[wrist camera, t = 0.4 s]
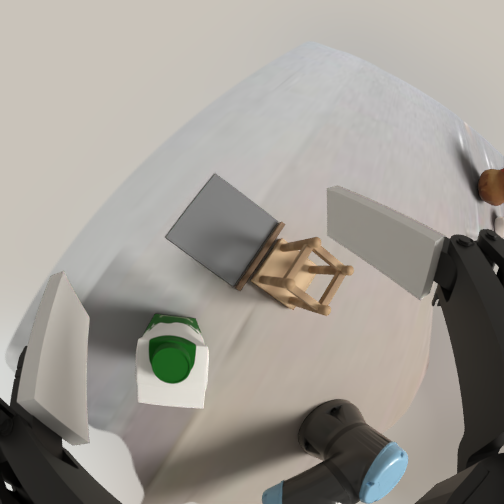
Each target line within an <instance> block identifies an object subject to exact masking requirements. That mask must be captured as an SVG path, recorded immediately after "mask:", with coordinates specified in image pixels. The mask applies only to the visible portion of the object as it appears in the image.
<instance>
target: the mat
mask: <svg viewBox="0 0 504 504" xmlns="http://www.w3.org/2000/svg"><path fill="white" fill-rule="evenodd" d="M277 222H278V221H277V220H276V219H274V218H273V217H272V216H271V215H269V214H268V213H267V212H266V211H264V210H263V209H262V208H260V207H259V206H258V205H256V204H255V203H254V202H253V201H251V200H250V199H249V198H247V197H246V196H245V195H243V194H242V193H241V192H239V191H238V190H237V189H236V188H234V187H233V186H232V185H230V184H229V183H228V182H226V181H225V180H223V179H222V178H221V177H219V176H218V175H217V174H215V175H214V176H213V177H212V178H211V180H210V181H209V182H208V183H207V184H206V186H205V187H204V188H203V189H202V191H201V192H200V193H199V194H198V196H197V197H196V198H195V200H194V201H193V202H192V203H191V205H190V206H189V207H188V209H187V210H186V211H185V212H184V214H183V215H182V216H181V218H180V219H179V220H178V222H177V223H176V224H175V226H174V227H173V228H172V230H171V231H170V232H169V234H168V235H167V237H166V238H167V239H169V240H170V241H171V242H173V243H174V244H175V245H177V246H178V247H179V248H181V249H182V250H183V251H185V252H186V253H187V254H189V255H190V256H192V257H193V258H194V259H196V260H197V261H198V262H200V263H201V264H203V265H204V266H205V267H207V268H208V269H209V270H211V271H212V272H214V273H215V274H216V275H218V276H219V277H221V278H222V279H223V280H225V281H226V282H228V283H229V284H231V285H232V286H234V285H235V283H236V282H237V280H238V279H239V277H240V276H241V275H242V273H243V272H244V270H245V269H246V267H247V266H248V264H249V263H250V261H251V260H252V259H253V257H254V256H255V254H256V253H257V251H258V250H259V248H260V247H261V245H262V244H263V242H264V241H265V240H266V238H267V237H268V235H269V234H270V232H271V231H272V229H273V228H274V226H275V225H276V224H277Z"/></svg>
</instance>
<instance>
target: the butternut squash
mask: <svg viewBox="0 0 504 504" xmlns="http://www.w3.org/2000/svg"><path fill="white" fill-rule="evenodd" d="M478 190H479V195H480V197H481V199H482V200H483V201H485V202H487V203H489V204H491V205H494V206H498V205H501V204H502V203H504V168H503V169H501V170H495V169H489V170H485V171H484V172H483V173H482V174H481V176H480V179H479V182H478Z"/></svg>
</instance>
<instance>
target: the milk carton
mask: <svg viewBox="0 0 504 504" xmlns="http://www.w3.org/2000/svg"><path fill="white" fill-rule="evenodd" d="M208 364H209V351H208V346H206V345H205V343H204V340H203V337H202V334H201V331H200V329H199V326H198V324H197V321H196V319H195V318H186V317H177V316H169V315H161V314H155V315H154V317H153V318H152V320H151V322H150V323H149V325H148V327H147V329H146V331H145V333H144V335H143V337H141V338H139V339H138V343H137V348H136V365H135V377H136V382H137V389H138V402H140V403H147V404H155V405H164V406H174V407H186V408H203V407H204V395H205V390H206V387H207V381H208Z"/></svg>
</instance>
